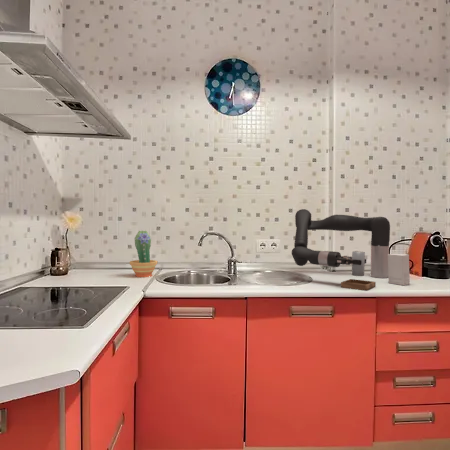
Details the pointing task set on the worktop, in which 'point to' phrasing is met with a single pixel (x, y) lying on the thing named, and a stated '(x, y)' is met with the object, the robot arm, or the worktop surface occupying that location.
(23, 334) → the worktop surface
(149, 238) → the potted cactus
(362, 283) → the tray
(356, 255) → the grey upright block
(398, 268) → the skincare box
